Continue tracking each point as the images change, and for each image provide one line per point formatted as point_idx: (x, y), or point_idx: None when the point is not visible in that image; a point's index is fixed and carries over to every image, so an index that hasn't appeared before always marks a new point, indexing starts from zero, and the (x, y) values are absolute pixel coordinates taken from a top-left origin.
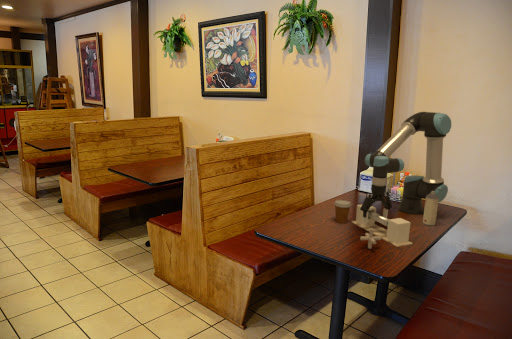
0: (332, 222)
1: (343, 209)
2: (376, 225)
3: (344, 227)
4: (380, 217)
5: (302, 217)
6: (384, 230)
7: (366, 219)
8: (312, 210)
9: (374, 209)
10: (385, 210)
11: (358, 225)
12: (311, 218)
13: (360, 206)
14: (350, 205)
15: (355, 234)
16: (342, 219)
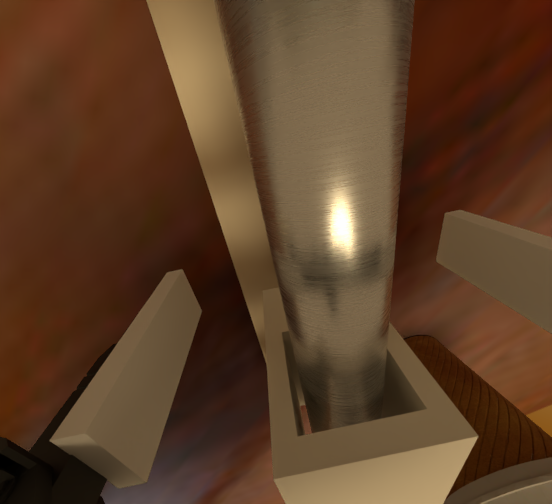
0: (463, 345)
1: (540, 435)
2: (249, 285)
3: (464, 282)
4: (397, 147)
5: (531, 391)
6: (234, 179)
7: (511, 230)
8: None
9: (301, 443)
10: (131, 415)
11: None
12: (508, 384)
13: (449, 491)
14: (501, 496)
15: (508, 152)
16: (448, 354)
